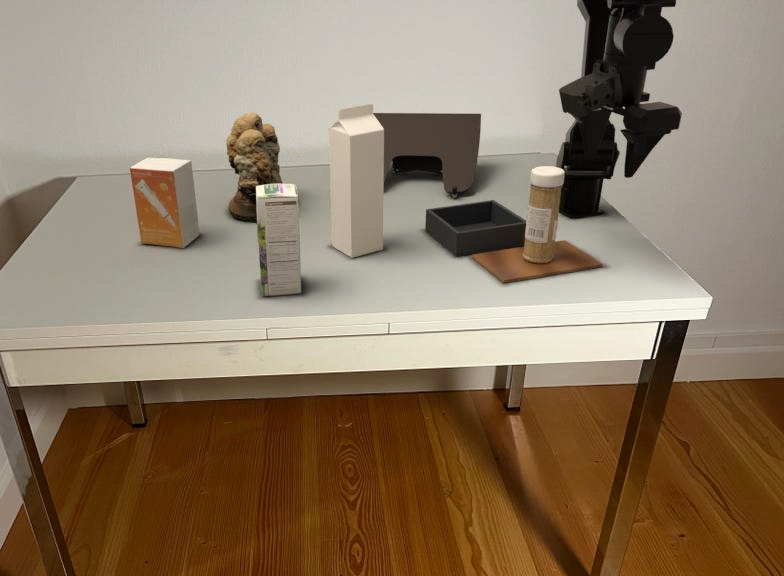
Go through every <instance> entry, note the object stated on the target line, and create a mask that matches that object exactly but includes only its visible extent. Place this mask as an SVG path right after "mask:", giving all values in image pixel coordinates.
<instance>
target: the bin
mask: <svg viewBox="0 0 784 576" xmlns="http://www.w3.org/2000/svg"><path fill="white" fill-rule="evenodd" d="M526 221H527V219H525V218H523V217H522V216H520V215H518V214H516V213H515V212H514V211H512V210H511V209H508V207H505V206H504V205H502V204H501V203H499V202H498V201H496V200H494V199H491V200H490V199H489V200H483V201H478V202H477V201H476V202H469V203H461V204H455V205H447V206H441V207H433V208H426V209H425V228H424V231H425V232H426V234H428V235H429V236H430V237H431V238H433V240H435V241H436V242H438V244H440V245H441V246H442V247H443V248H445V249H446V250H447V251H448V252H449V253H451V254H452V255H453V256H454V257H463V256H470V255H473V254H480V253H486V252H493V251H499V250H505V249H512V248H518V247H524V245H525V231H526Z"/></svg>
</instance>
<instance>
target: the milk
mask: <svg viewBox="0 0 784 576" xmlns="http://www.w3.org/2000/svg"><path fill="white" fill-rule="evenodd" d="M373 113H374V104H373V103H367V104H360V105H355V106H350V107H344V108H339V110H338V120H337V121H336V122H334V123H333V124H332V125H331V126H329V127H328V144H329V145H328V146H329V147H328V149H329V181H330V183H329V185H330V219H331V220H330V222H331V225H330V226H331V246H332V247H333V248H334V249H335V250H337V251H339V252H341V253H342V254H344V255H346V256H347V257H349V258H352V259H353V258H357V257H360V256H364V255H368V254H371V253H375V252H379V251H382V250H384V191H385V190H384V187H385V186H384V183H385V181H384V128H383V127H382V126H381V124H380V123H379V121H378V120H377V119H376V117H375V116H374V114H373Z"/></svg>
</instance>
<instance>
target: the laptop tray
mask: <svg viewBox="0 0 784 576" xmlns="http://www.w3.org/2000/svg"><path fill="white" fill-rule="evenodd" d="M373 114H374V116H375V117H376V119H377V120H378V121H379V123H380V124H381V126H382V127H383V128H384V182H385V181H386V178H387V177H388V174H389V171H390V167H391V164H392V172H393V173H394V174H397V175H400V174H405V173H410V172H426V173H431V174H434V175H438V176H439V175H440V176H442V182H443V187H444V191H445V193H447V194H451V196H452V199H456V198H457V196H458V194H460V193H464V192H467V191H469V190H470V189H471V187H472V185H473V181H474V177H475V174H476V171H477V170H476V169H477V164H478V158H479V150H480V143H481V128H482V113H444V112H443V113H440V112H439V113H437V112H436V113H434V112H433V113H430V112H418V113H417V112H373Z"/></svg>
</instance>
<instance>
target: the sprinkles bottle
mask: <svg viewBox="0 0 784 576" xmlns="http://www.w3.org/2000/svg"><path fill="white" fill-rule="evenodd" d="M564 175H565V172H564V170H563V169H561V168H558V167H556V166H551V165H543V166H541V165H540V166H537V167H534V168H532V170H531V171H530V178H529V183H530V184H529V185H530V190H529V198H528V204H527V213H526V231H525V245H524V246H523V247H524V252H523V255H522V256H523V258H524V259H525V260H526V261H529V262H532V263H547V262H550V261H551V260H553V258H554V255H553V252H554V244H555V242H556V238H557V231H558V224H559V223H558V222H559V212H560V211H559V203H560V195H561V188H562V185H563V183H564Z"/></svg>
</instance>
